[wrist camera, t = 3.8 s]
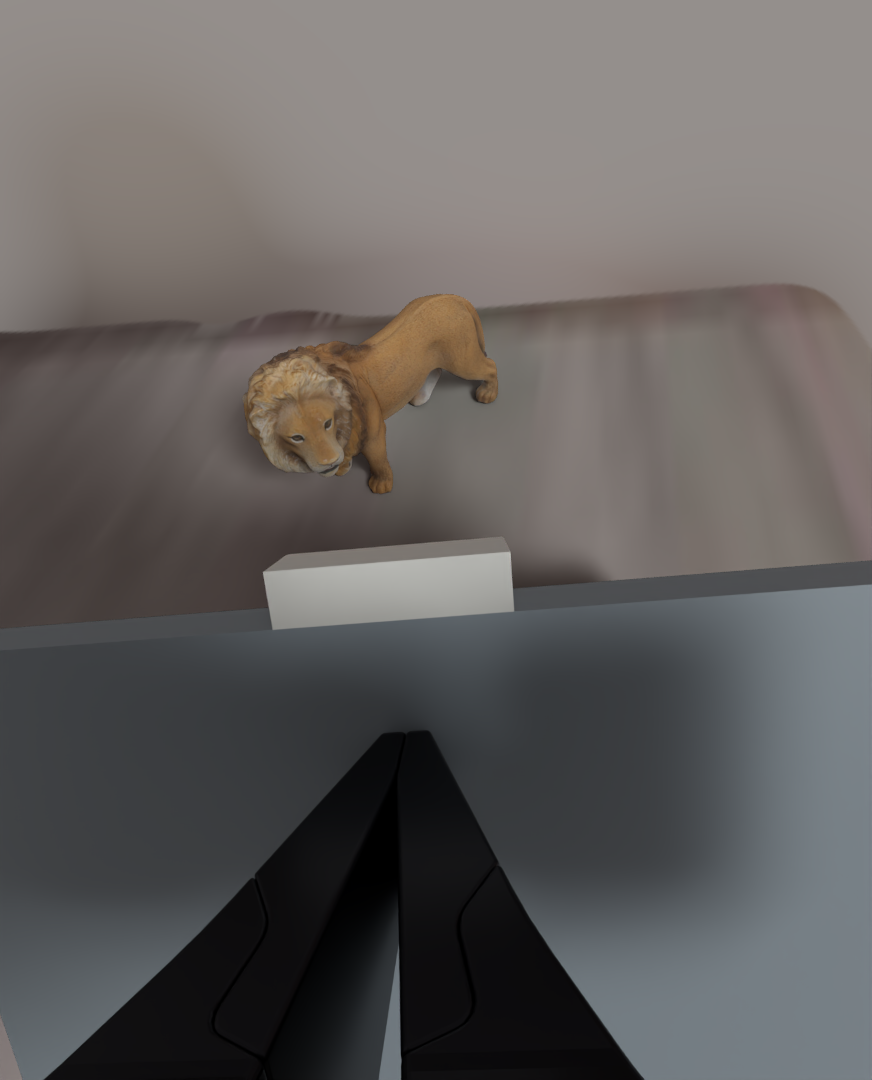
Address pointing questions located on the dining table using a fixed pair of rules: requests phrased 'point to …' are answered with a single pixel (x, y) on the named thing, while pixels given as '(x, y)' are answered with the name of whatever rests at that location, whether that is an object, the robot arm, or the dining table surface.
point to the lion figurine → (363, 388)
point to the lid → (471, 787)
